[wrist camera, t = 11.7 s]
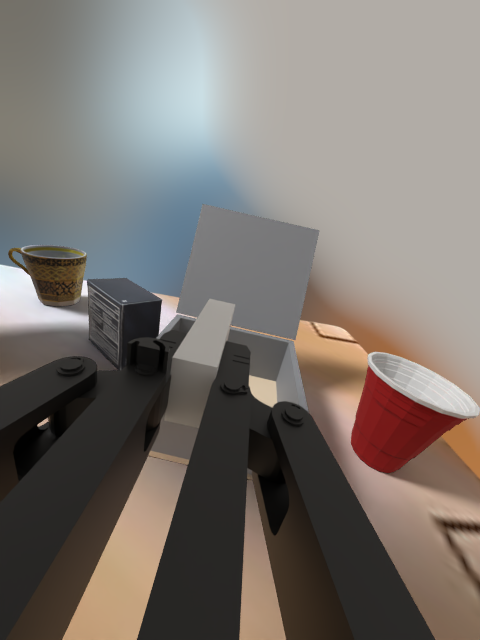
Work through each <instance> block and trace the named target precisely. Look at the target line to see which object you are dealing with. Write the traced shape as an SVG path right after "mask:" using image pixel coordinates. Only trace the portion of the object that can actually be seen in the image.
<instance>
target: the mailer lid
mask: <svg viewBox="0 0 480 640" xmlns="http://www.w3.org/2000/svg"><path fill="white" fill-rule="evenodd" d="M318 235H319V230H315V229H310V228H306V227H302V226H297V225H293V224H289V223H284V222H280V221H275V220H271V219H267V218H262V217H257V216H253V215H248V214H245V213H240V212H236V211H231V210H227V209H222V208H218V207H214V206H209V205H205V204H203V205H202V209H201V213H200V218H199V221H198V226H197V230H196V234H195V238H194V242H193V246H192V250H191V254H190V258H189V263H188V267H187V270H186V275H185V279H184V283H183V287H182V291H181V295H180V299H179V303H178V307H177V311H176V313H181V314H185V315H189V316H193V317H198V316H199V315H200V313H201V311H202V310H203V308H204V307H205V305H206V304H207V302H208V300H209V299H214V300H218V301H223V302H227V303H231V304H235V308H234V313H233V317H232V322H231V325H232V326H237V327H241V328H245V329H250V330H254V331H258V332H263V333H267V334H271V335H276V336H280V337H284V338H289V339H293V340H295V339H296V335H297V330H298V326H299V321H300V317H301V312H302V307H303V303H304V298H305V294H306V289H307V285H308V280H309V275H310V271H311V266H312V262H313V257H314V252H315V248H316V244H317V239H318Z"/></svg>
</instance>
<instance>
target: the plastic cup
mask: <svg viewBox="0 0 480 640" xmlns="http://www.w3.org/2000/svg"><path fill="white" fill-rule="evenodd" d="M479 412H480V408H479V406H478V405H477V404H476V403H475V402H474V400H473V399H472V398H471V397H470V396H469V395H467V394H466V393H465V392H464V391H462V390H461V389H460V388H459V387H457V386H456V385H455V384H453V383H451V382H450V381H448V380H446V379H445V378H443V377H442V376H440V375H438V374H437V373H435V372H433V371H430V370H429V369H427V368H425V367H423V366H421V365H419V364H416V363H414V362H411V361H409V360H407V359H404V358H402V357H398V356H395V355H391V354H388V353H381V352H373V353H371V354H368V369H367V375H366V379H365V385H364V388H363V392H362V396H361V399H360V403H359V406H358V410H357V413H356V420H355V423H354V427H353V430H352V436H351V445H352V447H353V450H354V451H355V453H356V454H357V455H358V457H359V458H360V459H361V460H362V461H364V462H365V463H366V464H367V465H368V466H370V467H372V468H374V469H376V470H378V471H380V472H385V473H391V472H395V471H396V470H399V469H400V468H401V467H402V466H404V465H405V464H406V463H407V462H408V461H409V460H411V459H412V458H415V457H416V456H417V455H418V454H420V453H421V452H422V451H423V450H425V449H426V448H427V447H428V446H429V445H431V444H432V443H433V442H434V441H435V440H437V439H438V438H439V437H440V436H442V435H443V434H444V433H445V432H446V431H448V430H451V429H452V428H453V427H454V426H455V425H458V424H460V423H461V422H462V421H463V420H466V419H469V418H475V417H477V416H478V415H479Z"/></svg>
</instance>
